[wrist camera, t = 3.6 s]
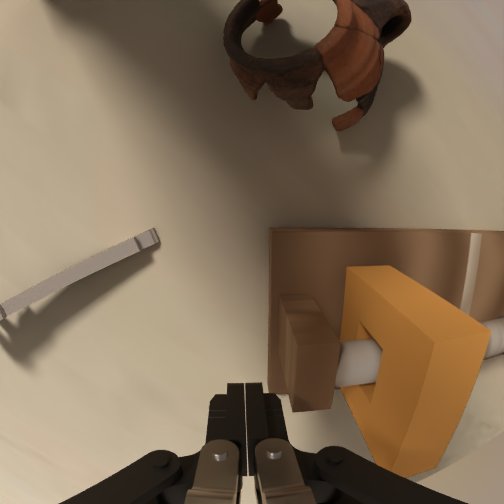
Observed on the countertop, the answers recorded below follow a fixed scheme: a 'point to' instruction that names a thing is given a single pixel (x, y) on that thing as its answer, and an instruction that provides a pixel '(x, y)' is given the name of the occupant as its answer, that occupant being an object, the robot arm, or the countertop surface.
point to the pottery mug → (321, 54)
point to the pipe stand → (333, 289)
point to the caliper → (79, 271)
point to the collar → (410, 367)
